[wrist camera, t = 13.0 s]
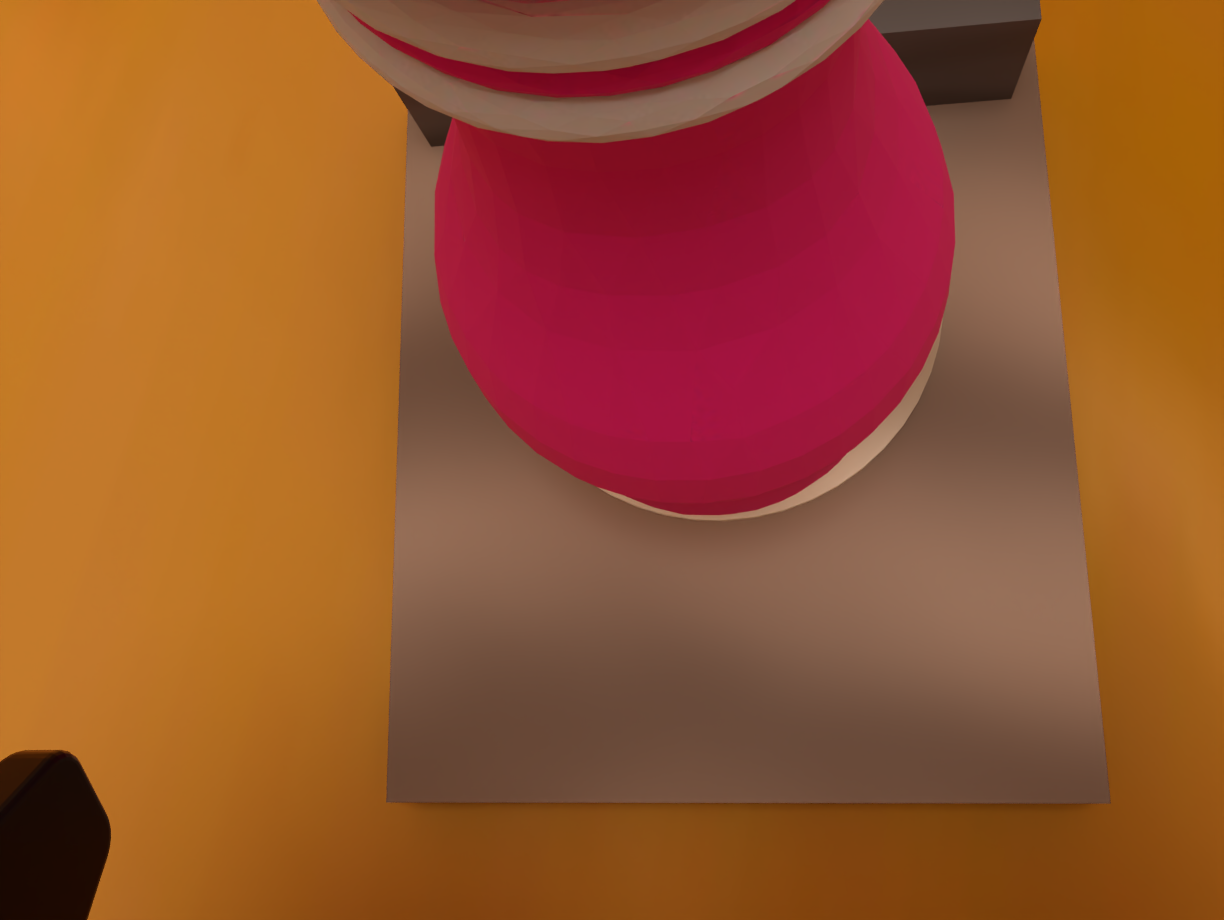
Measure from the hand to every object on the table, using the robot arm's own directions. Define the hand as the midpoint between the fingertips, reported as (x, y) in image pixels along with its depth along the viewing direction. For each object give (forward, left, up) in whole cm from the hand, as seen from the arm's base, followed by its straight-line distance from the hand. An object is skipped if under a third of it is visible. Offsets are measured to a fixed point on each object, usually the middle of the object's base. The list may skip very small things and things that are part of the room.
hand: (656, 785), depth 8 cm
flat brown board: (+4, +5, -12) cm, 14 cm away
